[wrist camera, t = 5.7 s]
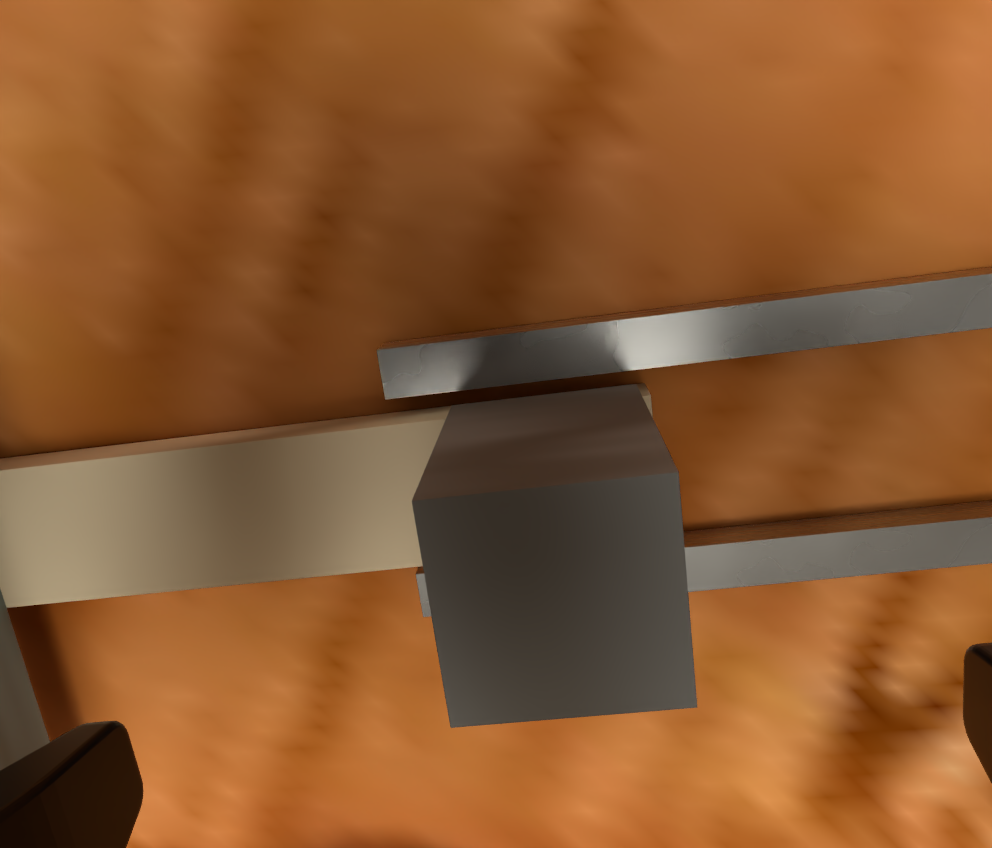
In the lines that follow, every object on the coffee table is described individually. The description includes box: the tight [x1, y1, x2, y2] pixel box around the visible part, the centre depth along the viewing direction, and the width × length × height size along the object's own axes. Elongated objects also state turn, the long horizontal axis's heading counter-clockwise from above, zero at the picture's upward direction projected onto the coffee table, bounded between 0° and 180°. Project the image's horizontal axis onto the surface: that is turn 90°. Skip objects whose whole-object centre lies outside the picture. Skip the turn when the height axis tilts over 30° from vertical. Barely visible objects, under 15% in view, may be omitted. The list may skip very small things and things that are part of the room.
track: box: [377, 267, 992, 617], centre depth 17 cm, size 13×6×1 cm, turn 98°
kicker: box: [0, 383, 697, 770], centre depth 15 cm, size 15×12×6 cm
